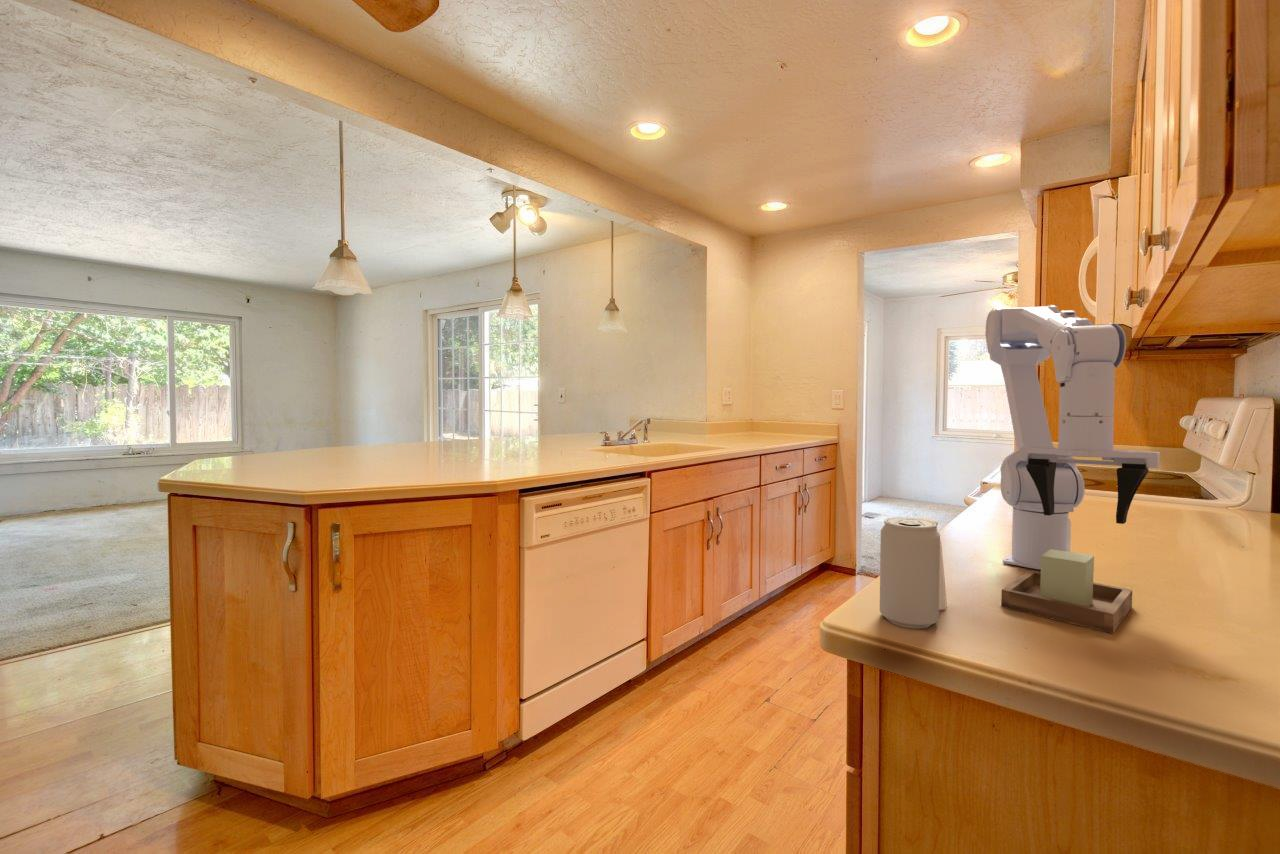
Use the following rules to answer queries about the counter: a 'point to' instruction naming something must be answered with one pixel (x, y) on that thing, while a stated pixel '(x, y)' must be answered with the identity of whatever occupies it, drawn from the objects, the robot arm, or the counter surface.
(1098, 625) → the walnut tray
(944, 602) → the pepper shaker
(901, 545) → the beverage can
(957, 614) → the counter surface
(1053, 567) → the sage block
